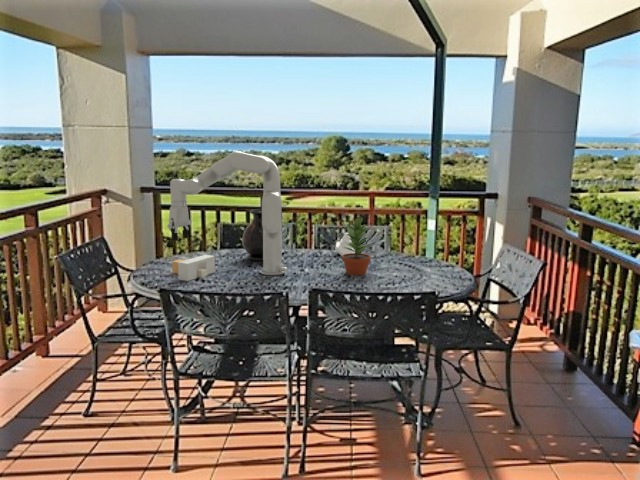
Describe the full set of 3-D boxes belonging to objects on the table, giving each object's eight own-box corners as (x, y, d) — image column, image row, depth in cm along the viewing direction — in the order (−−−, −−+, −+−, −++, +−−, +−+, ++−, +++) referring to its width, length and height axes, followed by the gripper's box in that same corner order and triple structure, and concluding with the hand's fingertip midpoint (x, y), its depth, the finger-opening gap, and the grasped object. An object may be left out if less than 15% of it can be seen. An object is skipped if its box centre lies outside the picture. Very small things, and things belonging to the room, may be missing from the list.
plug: (208, 275, 270) (208, 264, 269) (200, 278, 266) (200, 266, 265) (180, 270, 280) (180, 259, 279) (172, 272, 276) (172, 261, 275)
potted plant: (362, 268, 289) (363, 212, 284) (374, 275, 275) (376, 217, 270) (336, 270, 284) (337, 214, 278) (348, 277, 270) (349, 218, 264)
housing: (214, 272, 277) (214, 256, 276) (188, 280, 260) (187, 263, 259) (205, 270, 280) (205, 254, 279) (178, 279, 263) (178, 262, 261)
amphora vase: (275, 263, 297) (275, 213, 292) (237, 262, 300) (236, 212, 295) (283, 255, 318) (283, 208, 312) (248, 253, 321) (248, 207, 316)
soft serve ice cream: (354, 254, 332) (360, 232, 327) (352, 261, 317) (358, 239, 313) (334, 248, 332) (341, 226, 328) (331, 255, 318) (338, 233, 314)
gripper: (185, 201, 278) (186, 235, 281) (160, 205, 263) (162, 241, 266) (196, 202, 274) (197, 237, 278) (172, 206, 259) (173, 242, 263)
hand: (180, 238), depth 272 cm, fingers open, 6 cm apart
